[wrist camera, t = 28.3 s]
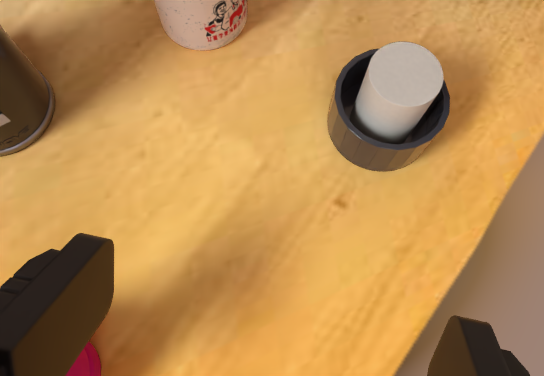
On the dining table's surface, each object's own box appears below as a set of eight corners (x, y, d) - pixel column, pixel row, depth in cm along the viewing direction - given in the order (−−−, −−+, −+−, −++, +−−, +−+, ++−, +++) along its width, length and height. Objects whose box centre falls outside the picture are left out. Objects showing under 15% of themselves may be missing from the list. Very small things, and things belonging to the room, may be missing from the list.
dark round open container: (309, 104, 43) (314, 74, 38) (393, 64, 45) (409, 31, 40) (360, 189, 41) (373, 168, 36) (449, 144, 42) (472, 118, 37)
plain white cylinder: (338, 109, 42) (354, 58, 35) (390, 85, 43) (416, 30, 36) (370, 160, 41) (394, 118, 33) (423, 133, 42) (458, 87, 34)
